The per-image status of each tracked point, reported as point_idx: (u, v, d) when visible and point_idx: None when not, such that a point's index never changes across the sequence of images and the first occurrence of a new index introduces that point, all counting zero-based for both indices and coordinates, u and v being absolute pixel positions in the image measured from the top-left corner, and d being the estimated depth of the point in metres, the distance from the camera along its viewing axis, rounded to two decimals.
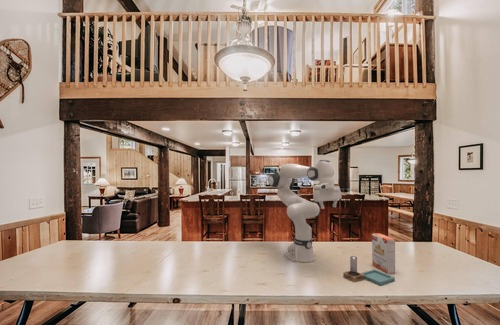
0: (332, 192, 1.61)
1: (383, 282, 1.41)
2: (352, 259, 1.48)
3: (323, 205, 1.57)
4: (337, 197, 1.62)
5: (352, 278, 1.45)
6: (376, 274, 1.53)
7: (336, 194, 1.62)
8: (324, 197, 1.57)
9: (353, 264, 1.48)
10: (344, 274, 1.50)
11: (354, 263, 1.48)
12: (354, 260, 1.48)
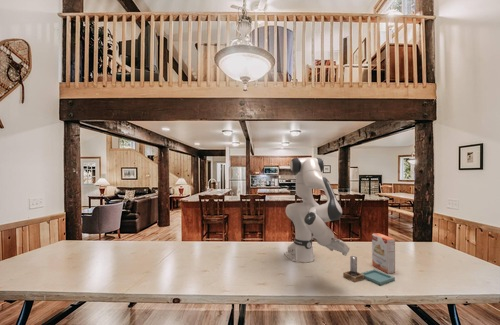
0: (332, 245, 1.38)
1: (383, 282, 1.41)
2: (352, 259, 1.48)
3: (329, 248, 1.47)
4: (340, 251, 1.36)
5: (352, 278, 1.45)
6: (376, 274, 1.53)
7: (337, 248, 1.36)
8: (324, 245, 1.45)
9: (353, 264, 1.48)
10: (344, 274, 1.50)
11: (354, 263, 1.48)
12: (354, 260, 1.48)
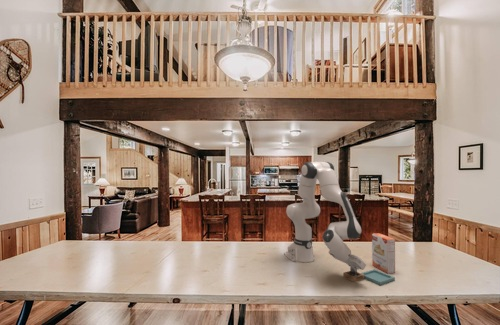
0: (348, 261, 1.44)
1: (383, 282, 1.41)
2: None
3: (348, 264, 1.51)
4: (356, 267, 1.42)
5: (352, 278, 1.45)
6: (376, 274, 1.53)
7: (354, 264, 1.42)
8: None
9: None
10: (344, 274, 1.50)
11: None
12: None
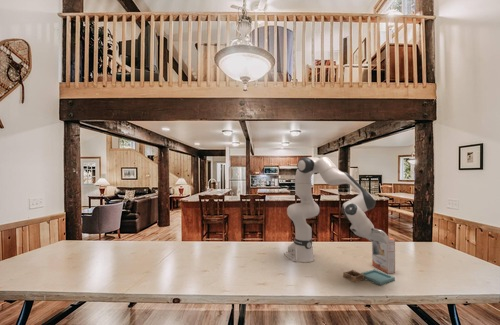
0: (371, 235, 1.43)
1: (383, 282, 1.41)
2: None
3: None
4: (380, 241, 1.41)
5: (352, 278, 1.45)
6: (376, 274, 1.53)
7: (377, 238, 1.41)
8: (362, 235, 1.50)
9: None
10: (344, 274, 1.50)
11: None
12: None
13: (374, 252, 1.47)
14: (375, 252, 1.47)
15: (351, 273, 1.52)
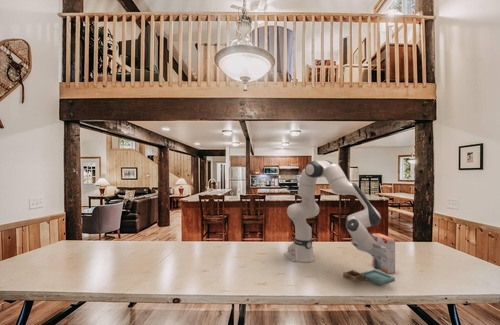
0: (373, 250, 1.43)
1: (383, 282, 1.41)
2: None
3: (371, 254, 1.50)
4: (381, 256, 1.41)
5: (352, 278, 1.45)
6: (376, 274, 1.53)
7: (378, 254, 1.41)
8: (363, 250, 1.50)
9: None
10: (344, 274, 1.50)
11: None
12: None
13: (375, 267, 1.47)
14: (376, 267, 1.47)
15: (351, 273, 1.52)
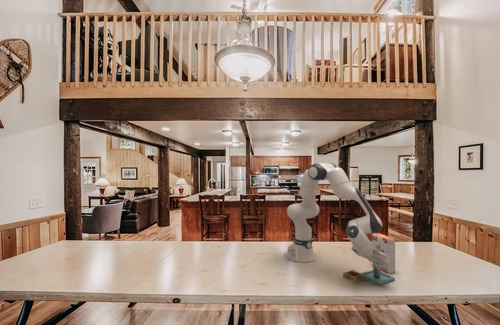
0: (372, 257, 1.43)
1: (383, 282, 1.41)
2: None
3: None
4: (381, 263, 1.41)
5: (352, 278, 1.45)
6: None
7: (378, 260, 1.41)
8: (363, 256, 1.50)
9: (376, 263, 1.47)
10: (344, 274, 1.50)
11: (377, 262, 1.47)
12: None
13: (375, 276, 1.47)
14: (376, 276, 1.47)
15: (351, 273, 1.52)
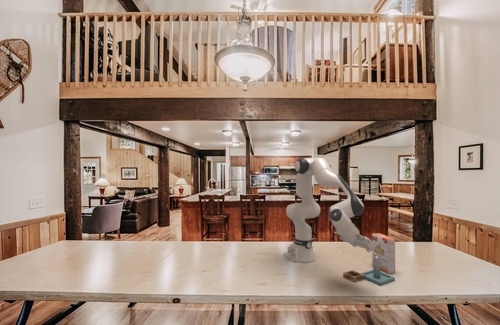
0: (356, 241, 1.37)
1: (383, 282, 1.41)
2: (375, 258, 1.47)
3: (352, 244, 1.47)
4: (365, 248, 1.35)
5: (352, 278, 1.45)
6: None
7: (362, 245, 1.35)
8: (347, 241, 1.44)
9: (376, 263, 1.47)
10: (344, 274, 1.50)
11: (377, 262, 1.47)
12: (377, 259, 1.47)
13: (375, 276, 1.47)
14: (376, 276, 1.47)
15: (351, 273, 1.52)
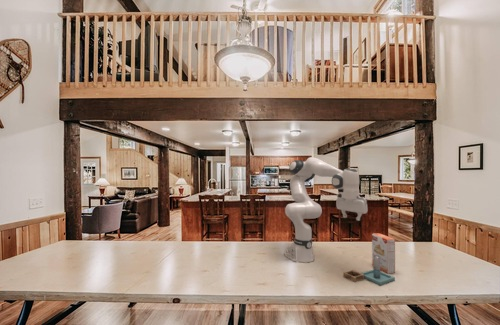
0: (353, 203, 1.52)
1: (383, 282, 1.41)
2: (375, 258, 1.47)
3: (343, 214, 1.59)
4: (357, 210, 1.49)
5: (352, 278, 1.45)
6: None
7: (356, 207, 1.49)
8: (343, 206, 1.58)
9: (376, 263, 1.47)
10: (344, 274, 1.50)
11: (377, 262, 1.47)
12: (377, 259, 1.47)
13: (375, 276, 1.47)
14: (376, 276, 1.47)
15: (351, 273, 1.52)
